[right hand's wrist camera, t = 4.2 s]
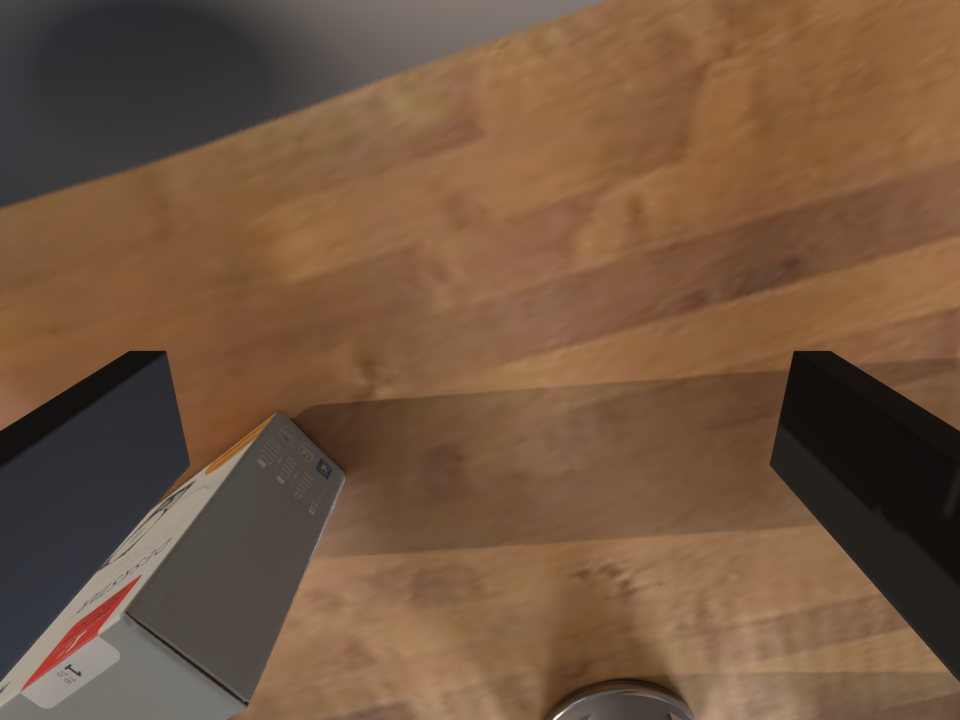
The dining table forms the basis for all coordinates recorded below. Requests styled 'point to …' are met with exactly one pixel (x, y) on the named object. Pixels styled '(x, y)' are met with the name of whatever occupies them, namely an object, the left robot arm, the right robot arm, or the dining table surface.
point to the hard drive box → (188, 593)
